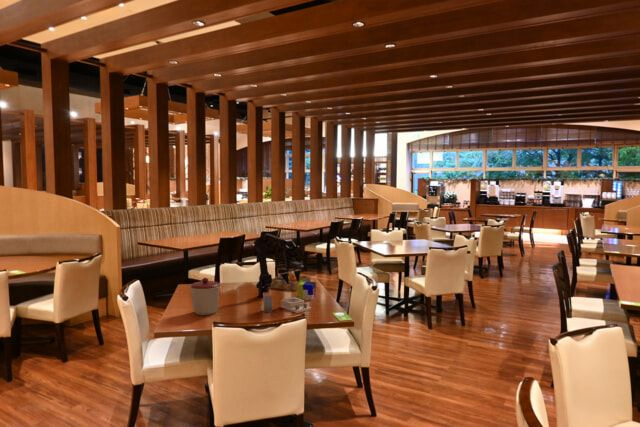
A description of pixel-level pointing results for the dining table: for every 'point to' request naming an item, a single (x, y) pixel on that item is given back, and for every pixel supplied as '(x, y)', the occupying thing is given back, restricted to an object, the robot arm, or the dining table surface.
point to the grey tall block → (267, 301)
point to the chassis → (294, 305)
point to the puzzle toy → (306, 290)
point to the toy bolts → (291, 277)
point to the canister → (205, 296)
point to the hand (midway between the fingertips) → (293, 282)
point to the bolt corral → (292, 285)
